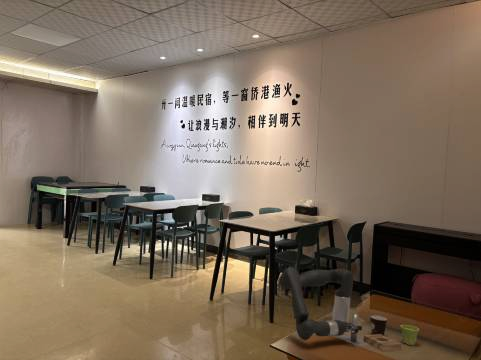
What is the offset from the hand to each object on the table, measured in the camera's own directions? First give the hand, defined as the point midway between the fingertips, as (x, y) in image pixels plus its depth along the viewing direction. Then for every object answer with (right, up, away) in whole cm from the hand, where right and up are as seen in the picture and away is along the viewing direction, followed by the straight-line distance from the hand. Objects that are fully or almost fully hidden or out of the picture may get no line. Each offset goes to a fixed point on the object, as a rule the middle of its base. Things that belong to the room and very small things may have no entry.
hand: (358, 326), depth 202 cm
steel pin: (-3, -7, -2) cm, 8 cm away
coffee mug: (+15, -11, +15) cm, 24 cm away
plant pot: (+29, -11, +4) cm, 31 cm away
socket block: (+11, -9, -4) cm, 15 cm away
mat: (-3, -8, 0) cm, 8 cm away
